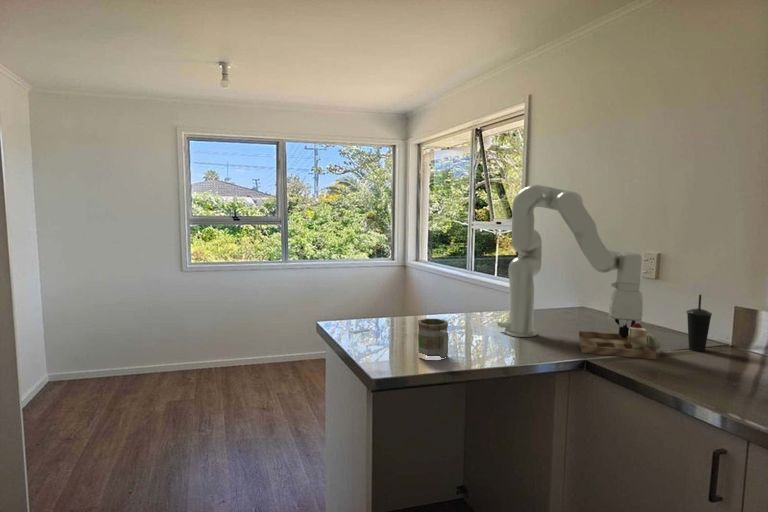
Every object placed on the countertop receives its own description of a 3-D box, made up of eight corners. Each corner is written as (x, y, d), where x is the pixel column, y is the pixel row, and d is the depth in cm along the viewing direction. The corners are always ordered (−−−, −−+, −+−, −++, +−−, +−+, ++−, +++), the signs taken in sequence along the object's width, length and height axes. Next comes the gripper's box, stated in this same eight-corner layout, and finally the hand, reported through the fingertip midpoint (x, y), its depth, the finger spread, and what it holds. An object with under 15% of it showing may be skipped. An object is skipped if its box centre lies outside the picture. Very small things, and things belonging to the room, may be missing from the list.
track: (581, 352, 165) (582, 337, 164) (578, 342, 178) (579, 327, 178) (659, 359, 157) (659, 343, 157) (649, 347, 170) (650, 333, 170)
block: (630, 344, 166) (631, 330, 166) (628, 340, 171) (629, 327, 170) (646, 345, 165) (647, 331, 164) (643, 342, 169) (644, 328, 169)
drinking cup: (705, 347, 171) (709, 293, 169) (712, 353, 164) (716, 297, 162) (681, 345, 173) (684, 292, 171) (687, 351, 166) (690, 295, 164)
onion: (644, 341, 179) (645, 321, 178) (627, 340, 180) (628, 320, 179) (639, 337, 184) (640, 317, 183) (623, 336, 185) (624, 317, 185)
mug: (411, 353, 165) (411, 319, 163) (439, 350, 168) (439, 317, 167) (431, 367, 150) (432, 330, 149) (461, 363, 154) (461, 327, 153)
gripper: (605, 287, 166) (601, 337, 168) (653, 290, 161) (648, 342, 163) (603, 284, 173) (599, 332, 175) (649, 287, 168) (644, 337, 170)
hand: (623, 337), depth 169 cm, fingers closed
